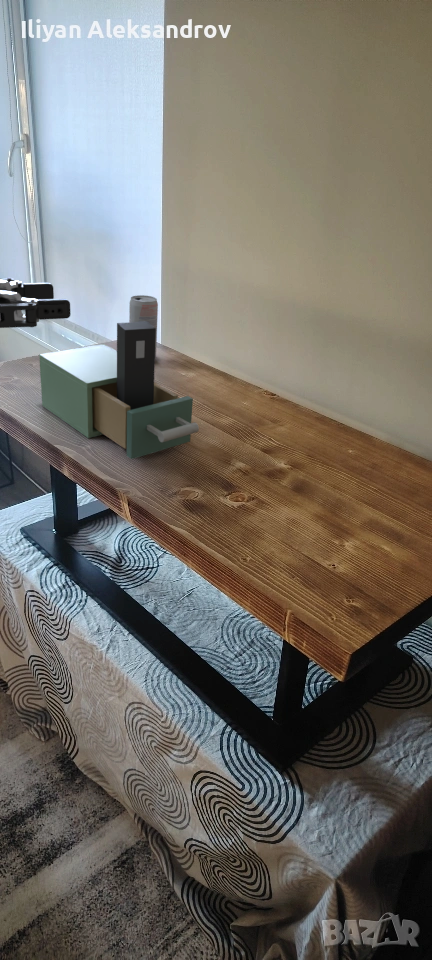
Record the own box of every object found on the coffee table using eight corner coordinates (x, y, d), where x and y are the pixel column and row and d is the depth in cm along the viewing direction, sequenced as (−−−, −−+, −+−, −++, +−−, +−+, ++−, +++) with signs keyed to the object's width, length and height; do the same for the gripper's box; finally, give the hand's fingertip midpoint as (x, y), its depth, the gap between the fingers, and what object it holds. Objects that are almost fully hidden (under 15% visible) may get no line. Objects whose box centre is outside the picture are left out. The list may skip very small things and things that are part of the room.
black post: (112, 421, 93) (111, 321, 86) (145, 417, 95) (147, 319, 88) (123, 435, 89) (124, 332, 82) (157, 431, 91) (161, 330, 84)
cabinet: (152, 421, 99) (153, 369, 95) (88, 438, 92) (87, 383, 88) (103, 392, 108) (103, 343, 104) (42, 405, 101) (39, 354, 97)
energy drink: (139, 353, 127) (140, 293, 121) (161, 359, 125) (163, 298, 119) (123, 359, 123) (123, 298, 117) (145, 366, 121) (146, 303, 115)
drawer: (208, 452, 89) (212, 408, 86) (149, 472, 83) (150, 425, 79) (138, 410, 100) (139, 370, 97) (81, 425, 94) (80, 382, 90)
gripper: (-80, 284, 65) (75, 281, 71) (-89, 258, 76) (46, 257, 82) (-70, 355, 68) (77, 345, 75) (-80, 319, 79) (49, 314, 86)
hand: (60, 299), depth 79 cm, fingers open, 8 cm apart
